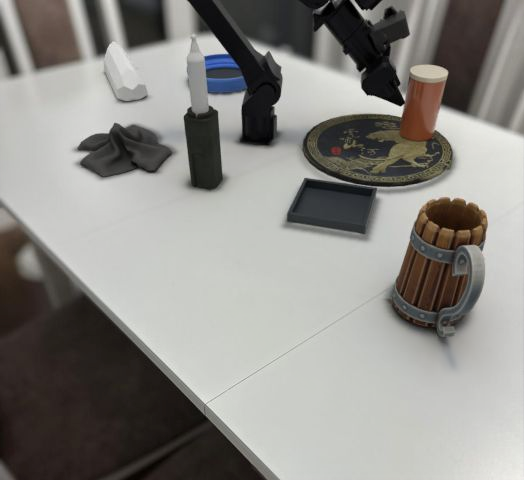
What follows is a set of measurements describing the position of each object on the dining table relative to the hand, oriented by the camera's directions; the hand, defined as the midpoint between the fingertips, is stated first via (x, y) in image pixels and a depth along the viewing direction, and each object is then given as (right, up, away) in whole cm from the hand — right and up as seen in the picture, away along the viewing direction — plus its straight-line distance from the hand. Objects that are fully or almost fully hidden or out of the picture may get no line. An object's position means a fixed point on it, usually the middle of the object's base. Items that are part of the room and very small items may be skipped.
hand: (400, 94), depth 104 cm
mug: (-3, -46, -29) cm, 54 cm away
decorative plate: (-4, -10, +4) cm, 12 cm away
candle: (-38, -18, -3) cm, 42 cm away
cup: (+5, -5, +5) cm, 9 cm away
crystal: (-62, +17, +30) cm, 71 cm away
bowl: (-37, +18, +31) cm, 52 cm away
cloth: (-56, -9, +5) cm, 57 cm away
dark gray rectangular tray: (-15, -26, -11) cm, 32 cm away
